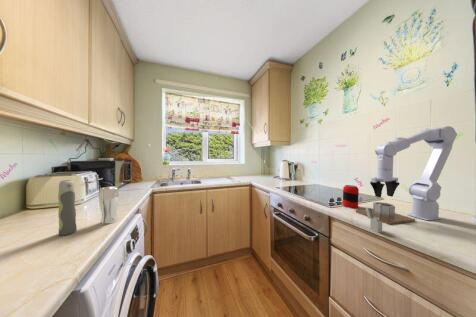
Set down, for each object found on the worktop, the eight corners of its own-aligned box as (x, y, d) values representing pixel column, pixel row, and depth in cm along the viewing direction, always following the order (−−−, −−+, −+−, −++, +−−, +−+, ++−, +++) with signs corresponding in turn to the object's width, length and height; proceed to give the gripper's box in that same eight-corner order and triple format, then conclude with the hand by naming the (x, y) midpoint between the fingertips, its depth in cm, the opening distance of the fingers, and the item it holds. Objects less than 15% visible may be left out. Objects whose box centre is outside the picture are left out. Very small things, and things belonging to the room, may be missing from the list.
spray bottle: (61, 237, 62) (59, 182, 62) (56, 234, 65) (55, 180, 64) (78, 231, 67) (77, 180, 66) (73, 229, 69) (72, 179, 68)
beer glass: (122, 220, 79) (122, 187, 78) (105, 225, 72) (104, 190, 72) (113, 217, 81) (112, 185, 81) (96, 222, 75) (95, 188, 75)
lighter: (382, 233, 68) (383, 212, 67) (377, 232, 68) (378, 212, 67) (368, 225, 75) (369, 207, 75) (364, 225, 75) (365, 207, 75)
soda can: (343, 203, 107) (343, 184, 106) (358, 205, 102) (358, 185, 102) (342, 206, 101) (342, 186, 100) (357, 209, 96) (358, 187, 96)
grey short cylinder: (381, 212, 88) (381, 202, 88) (391, 215, 84) (391, 205, 84) (375, 213, 87) (375, 203, 87) (384, 216, 83) (384, 205, 83)
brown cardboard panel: (379, 210, 95) (379, 199, 95) (415, 221, 80) (415, 208, 79) (355, 212, 91) (356, 200, 91) (388, 224, 76) (388, 210, 76)
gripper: (387, 168, 90) (386, 193, 91) (365, 168, 87) (364, 195, 87) (403, 169, 83) (402, 197, 84) (380, 169, 80) (378, 199, 80)
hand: (384, 196), depth 85 cm, fingers open, 7 cm apart
